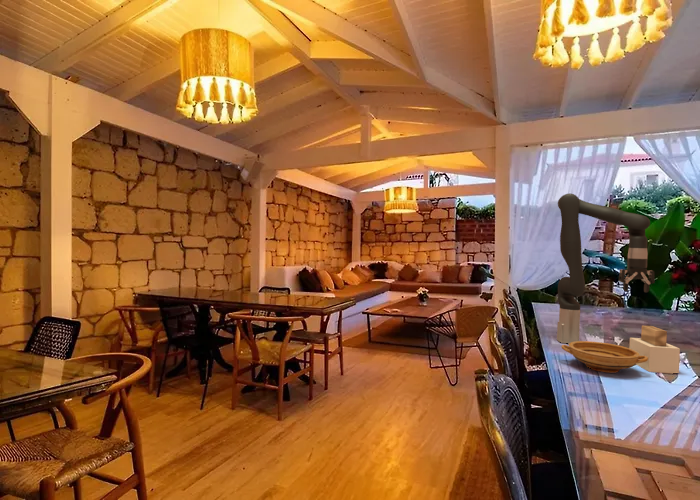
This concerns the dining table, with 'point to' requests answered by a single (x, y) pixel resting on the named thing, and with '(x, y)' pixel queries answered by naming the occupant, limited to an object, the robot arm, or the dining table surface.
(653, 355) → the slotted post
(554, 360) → the dining table surface
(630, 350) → the ceramic bowl
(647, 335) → the tan wooden block
